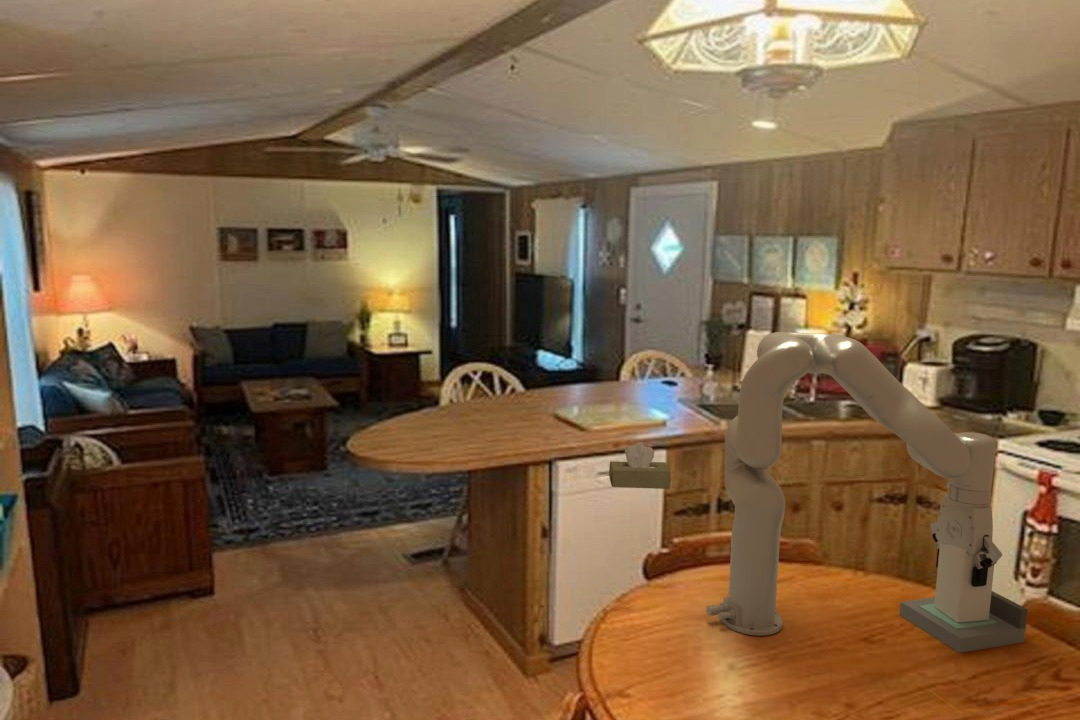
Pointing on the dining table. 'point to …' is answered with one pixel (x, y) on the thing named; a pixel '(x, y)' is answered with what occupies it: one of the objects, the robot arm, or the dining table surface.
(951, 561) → the milk carton
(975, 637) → the plate
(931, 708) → the dining table surface
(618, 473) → the tissue box
